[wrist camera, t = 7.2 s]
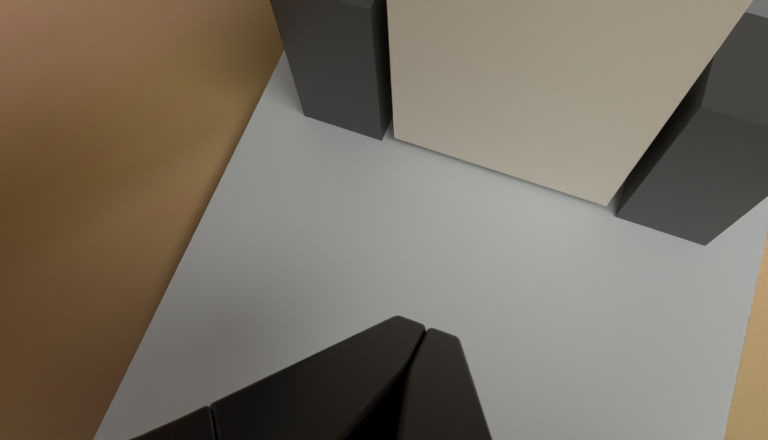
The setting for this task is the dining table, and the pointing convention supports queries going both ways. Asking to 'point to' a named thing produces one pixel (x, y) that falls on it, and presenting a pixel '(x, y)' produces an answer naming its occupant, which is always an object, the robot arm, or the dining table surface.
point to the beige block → (549, 81)
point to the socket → (470, 252)
